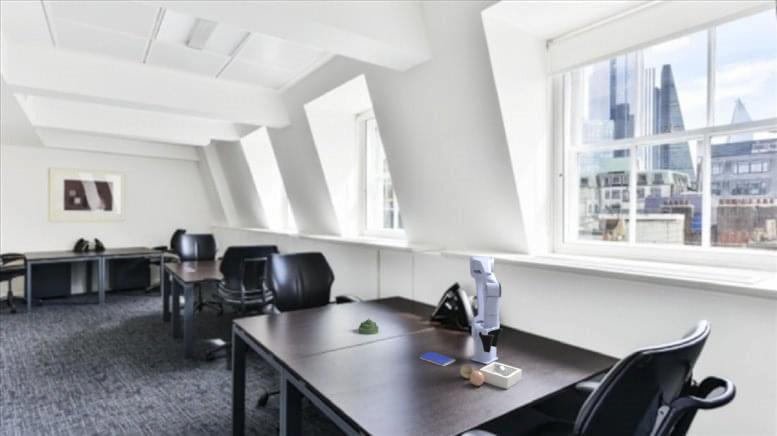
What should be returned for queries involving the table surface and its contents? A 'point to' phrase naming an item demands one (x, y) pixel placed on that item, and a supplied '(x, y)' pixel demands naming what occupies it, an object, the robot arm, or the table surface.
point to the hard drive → (437, 358)
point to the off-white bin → (501, 376)
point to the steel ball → (500, 370)
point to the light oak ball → (466, 370)
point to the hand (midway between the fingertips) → (490, 349)
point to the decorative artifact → (368, 327)
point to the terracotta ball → (477, 378)
